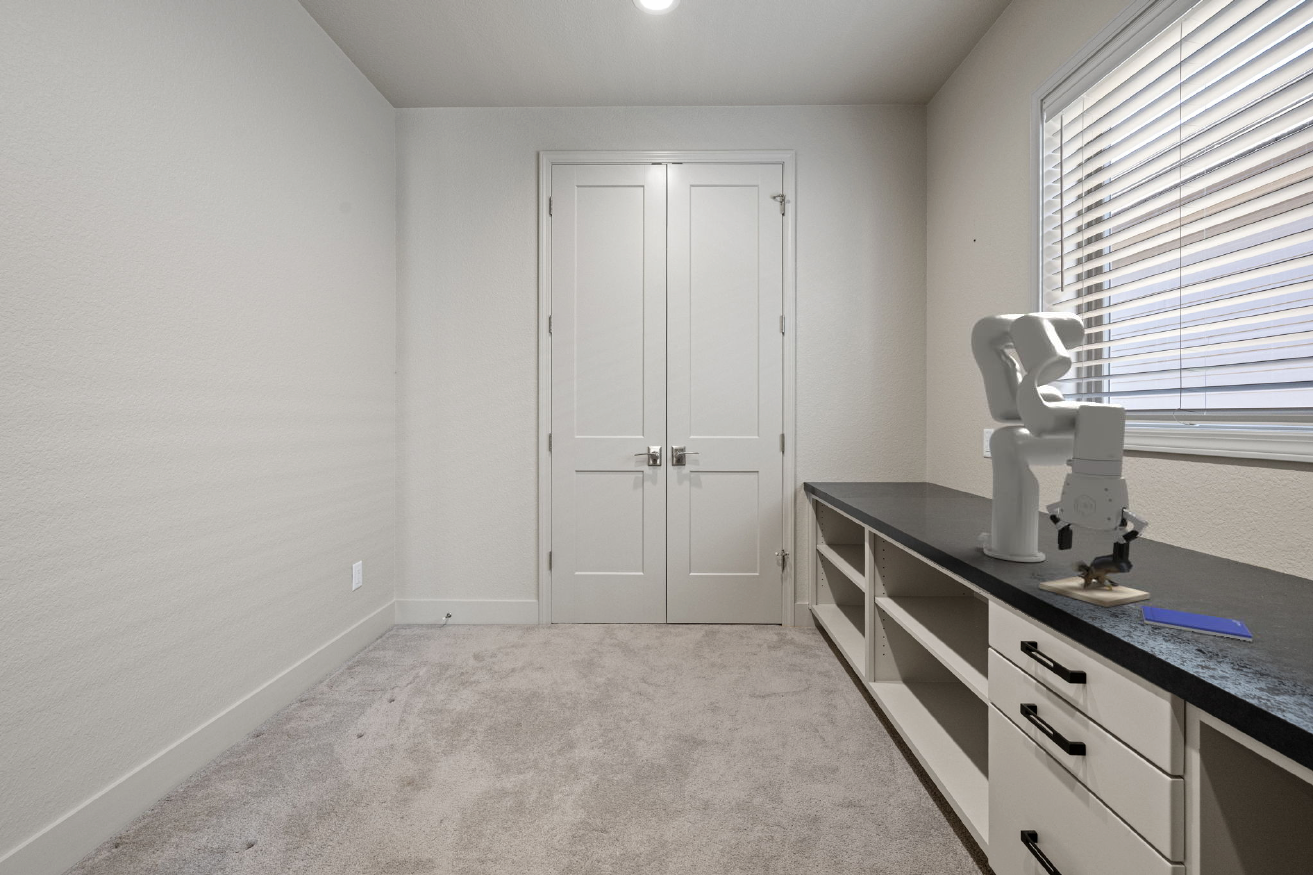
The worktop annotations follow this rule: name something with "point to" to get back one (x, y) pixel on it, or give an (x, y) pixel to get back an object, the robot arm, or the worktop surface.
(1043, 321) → the robot arm
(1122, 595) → the ash board
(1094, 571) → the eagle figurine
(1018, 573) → the worktop surface
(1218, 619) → the hard drive
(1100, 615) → the worktop surface
